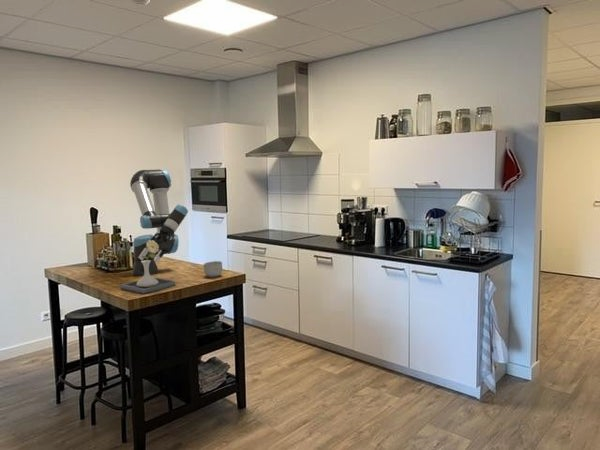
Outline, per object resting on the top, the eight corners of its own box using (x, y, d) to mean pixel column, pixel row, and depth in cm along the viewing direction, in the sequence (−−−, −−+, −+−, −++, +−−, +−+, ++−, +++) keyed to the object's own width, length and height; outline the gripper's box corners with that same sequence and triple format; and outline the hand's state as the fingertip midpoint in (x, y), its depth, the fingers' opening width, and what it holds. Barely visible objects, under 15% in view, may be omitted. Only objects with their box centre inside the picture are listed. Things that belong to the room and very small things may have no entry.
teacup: (218, 278, 267) (218, 264, 266) (201, 277, 269) (200, 264, 268) (227, 272, 280) (226, 259, 279) (210, 272, 282) (209, 259, 281)
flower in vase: (140, 290, 240) (137, 243, 237) (133, 286, 249) (130, 240, 246) (164, 285, 248) (162, 240, 245) (156, 282, 257) (154, 237, 254)
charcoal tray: (121, 289, 247) (120, 284, 247) (152, 281, 263) (152, 277, 263) (144, 294, 235) (143, 289, 235) (175, 285, 251) (175, 281, 251)
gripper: (187, 234, 252) (167, 266, 242) (159, 231, 267) (138, 261, 257) (179, 226, 247) (157, 258, 237) (150, 223, 262) (129, 254, 252)
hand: (147, 260), depth 247 cm, fingers open, 13 cm apart
